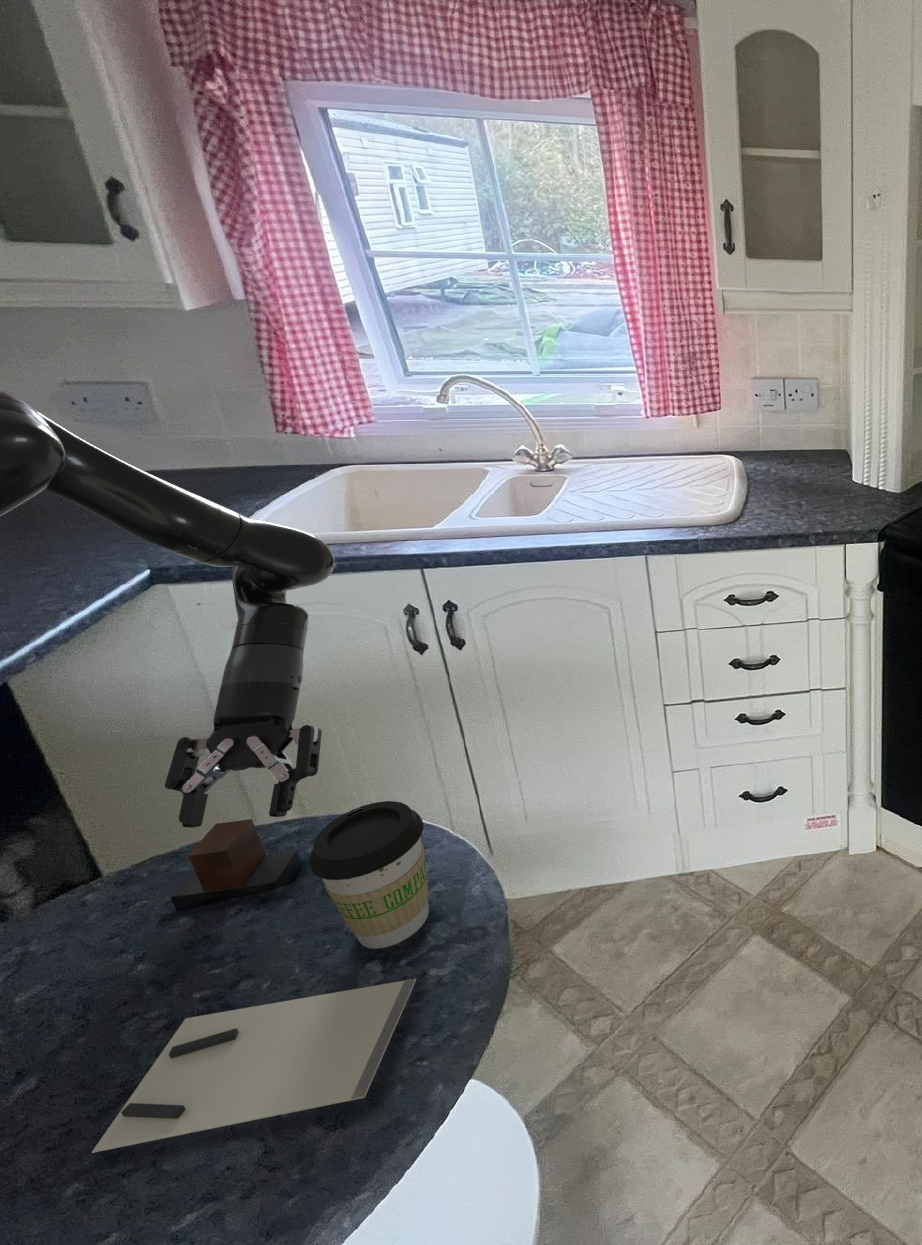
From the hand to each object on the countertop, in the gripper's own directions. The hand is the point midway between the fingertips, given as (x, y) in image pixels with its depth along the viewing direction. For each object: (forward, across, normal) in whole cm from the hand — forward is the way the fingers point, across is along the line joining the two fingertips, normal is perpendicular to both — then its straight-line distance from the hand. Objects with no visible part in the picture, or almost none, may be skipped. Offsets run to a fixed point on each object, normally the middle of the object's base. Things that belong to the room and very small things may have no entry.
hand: (235, 821), depth 91 cm
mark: (+22, +8, -13) cm, 27 cm away
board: (+25, +15, -14) cm, 32 cm away
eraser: (+7, 0, +4) cm, 8 cm away
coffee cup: (+15, +20, -4) cm, 25 cm away
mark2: (+26, +8, -17) cm, 32 cm away
